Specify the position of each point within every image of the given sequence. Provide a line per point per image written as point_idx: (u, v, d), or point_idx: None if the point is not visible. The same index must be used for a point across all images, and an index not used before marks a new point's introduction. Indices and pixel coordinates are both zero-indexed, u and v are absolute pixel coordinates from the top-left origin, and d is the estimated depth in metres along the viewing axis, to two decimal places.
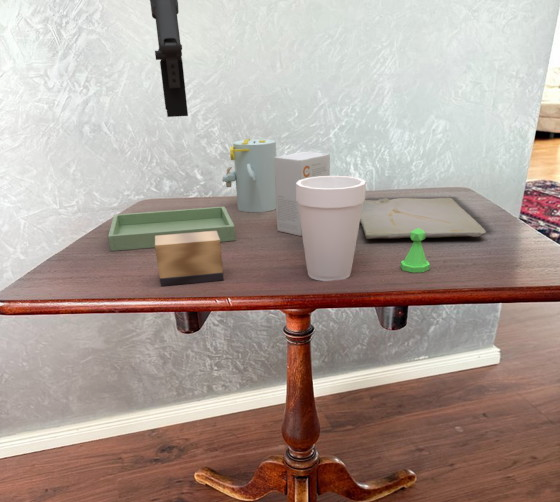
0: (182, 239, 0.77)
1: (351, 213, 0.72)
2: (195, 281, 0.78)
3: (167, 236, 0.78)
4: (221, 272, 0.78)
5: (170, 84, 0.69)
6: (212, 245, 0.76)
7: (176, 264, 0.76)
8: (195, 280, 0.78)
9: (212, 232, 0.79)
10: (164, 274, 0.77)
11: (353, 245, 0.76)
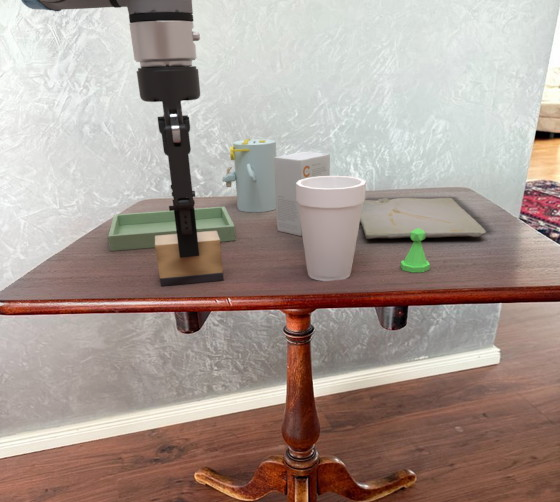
0: None
1: (351, 213, 0.72)
2: (195, 281, 0.78)
3: (167, 236, 0.78)
4: (221, 272, 0.78)
5: (183, 231, 0.72)
6: (212, 245, 0.76)
7: (176, 264, 0.76)
8: (195, 280, 0.78)
9: (212, 232, 0.79)
10: (164, 274, 0.77)
11: (353, 245, 0.76)
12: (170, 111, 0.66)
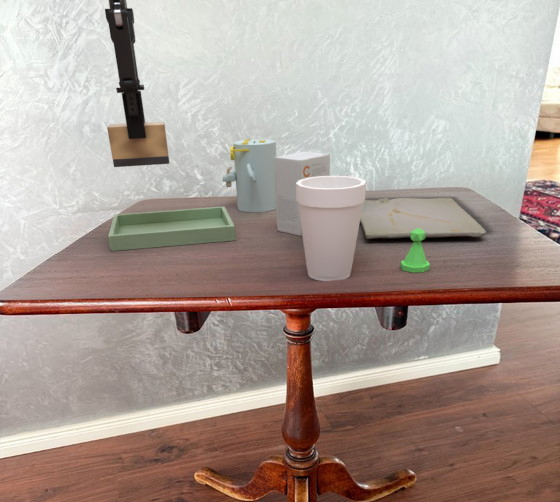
0: None
1: (351, 213, 0.72)
2: (144, 163, 0.89)
3: (120, 124, 0.89)
4: (167, 155, 0.89)
5: (129, 112, 0.84)
6: (158, 129, 0.87)
7: (127, 146, 0.88)
8: (144, 162, 0.89)
9: (160, 122, 0.91)
10: (116, 155, 0.88)
11: (353, 245, 0.76)
12: None
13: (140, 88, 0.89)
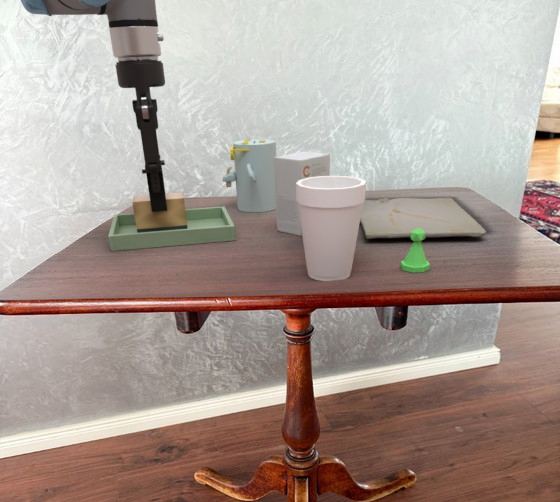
0: None
1: (351, 213, 0.72)
2: None
3: (143, 196, 0.98)
4: (186, 224, 0.99)
5: (153, 190, 0.93)
6: (178, 202, 0.96)
7: (150, 218, 0.97)
8: None
9: (179, 193, 1.00)
10: (140, 225, 0.97)
11: (353, 245, 0.76)
12: (141, 95, 0.86)
13: (161, 164, 0.98)
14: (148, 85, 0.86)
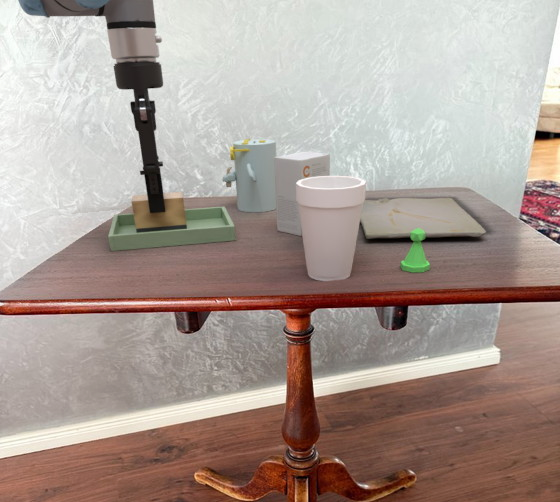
0: None
1: (351, 213, 0.72)
2: None
3: (142, 195, 0.98)
4: (185, 224, 0.98)
5: (151, 191, 0.93)
6: (177, 202, 0.96)
7: (149, 217, 0.97)
8: (164, 230, 0.98)
9: (178, 192, 1.00)
10: (139, 225, 0.97)
11: (353, 245, 0.76)
12: (139, 96, 0.86)
13: (159, 165, 0.98)
14: (146, 86, 0.86)
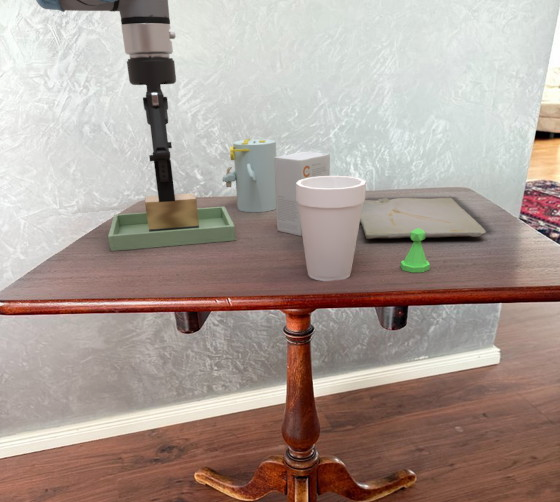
0: None
1: (351, 213, 0.72)
2: None
3: (155, 196, 0.99)
4: (197, 225, 0.99)
5: (161, 179, 0.88)
6: (190, 203, 0.97)
7: (162, 218, 0.97)
8: None
9: (191, 194, 1.00)
10: (152, 226, 0.97)
11: (353, 245, 0.76)
12: None
13: (168, 147, 1.01)
14: (159, 82, 0.86)
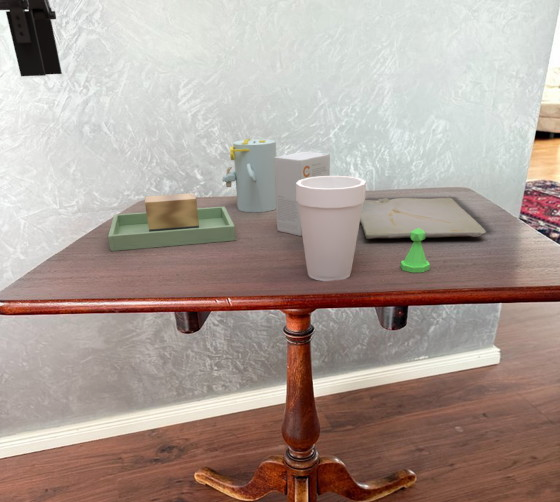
0: (166, 198, 0.97)
1: (351, 213, 0.72)
2: None
3: (155, 196, 0.99)
4: (197, 225, 0.99)
5: (17, 38, 0.62)
6: (190, 203, 0.97)
7: (162, 218, 0.97)
8: None
9: (191, 194, 1.00)
10: (152, 226, 0.97)
11: (353, 245, 0.76)
12: None
13: (51, 18, 0.74)
14: None
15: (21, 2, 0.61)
